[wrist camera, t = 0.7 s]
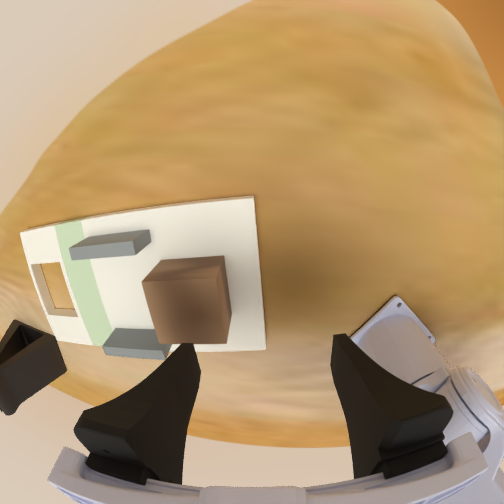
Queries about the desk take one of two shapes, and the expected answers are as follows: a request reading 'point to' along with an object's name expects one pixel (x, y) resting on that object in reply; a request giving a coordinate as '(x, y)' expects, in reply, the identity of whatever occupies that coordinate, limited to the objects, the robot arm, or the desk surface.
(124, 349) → the board
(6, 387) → the black open bin
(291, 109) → the desk surface
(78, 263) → the pad
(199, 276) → the block
